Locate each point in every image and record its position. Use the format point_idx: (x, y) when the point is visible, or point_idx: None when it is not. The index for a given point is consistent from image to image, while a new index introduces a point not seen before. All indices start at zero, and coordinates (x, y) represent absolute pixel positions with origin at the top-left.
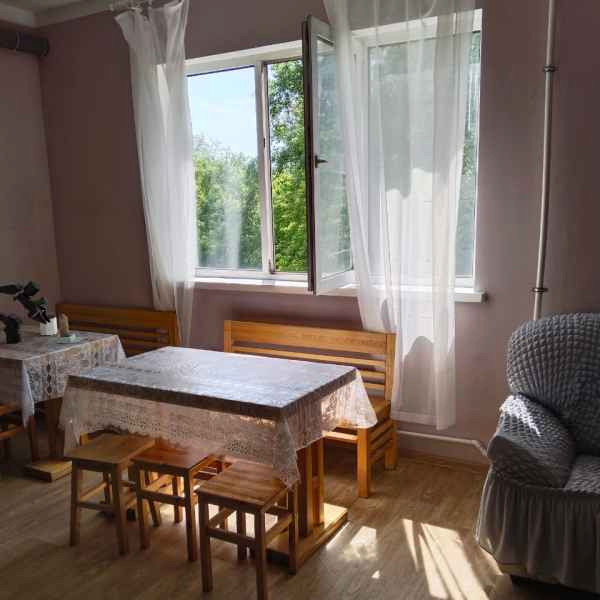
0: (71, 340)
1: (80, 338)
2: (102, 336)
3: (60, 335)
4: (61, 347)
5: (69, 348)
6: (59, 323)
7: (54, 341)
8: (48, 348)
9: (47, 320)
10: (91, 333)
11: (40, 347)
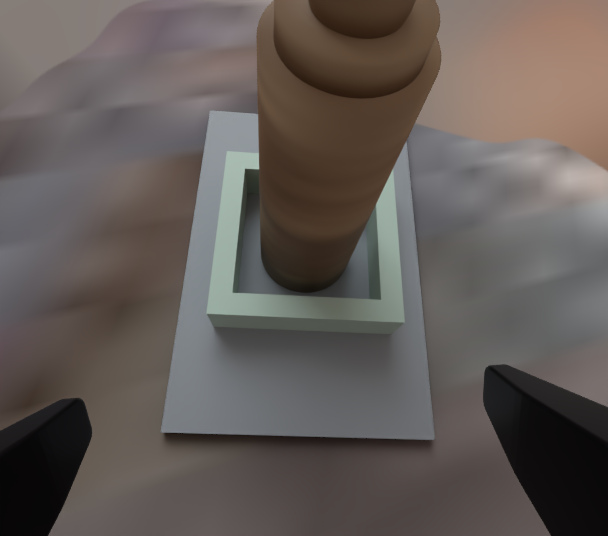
0: None
1: None
2: (204, 16)
3: (345, 257)
4: (544, 235)
5: (570, 169)
6: (391, 158)
7: (347, 347)
8: (588, 344)
9: (39, 494)
10: (47, 92)
11: None
